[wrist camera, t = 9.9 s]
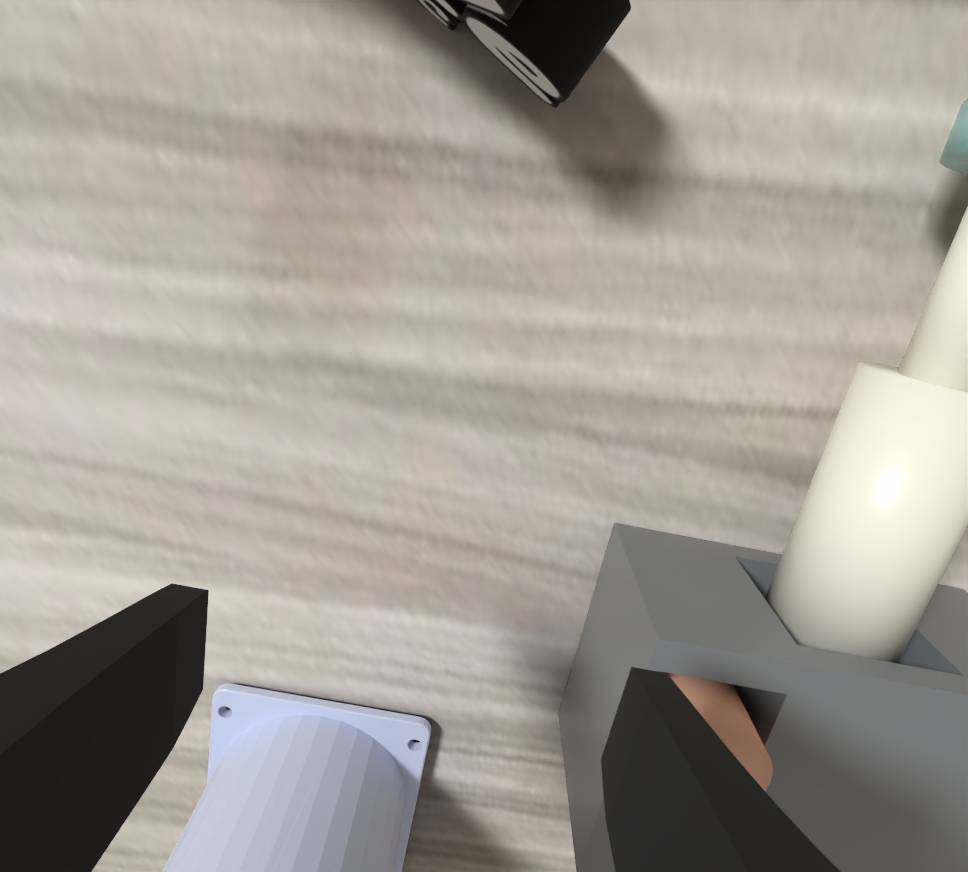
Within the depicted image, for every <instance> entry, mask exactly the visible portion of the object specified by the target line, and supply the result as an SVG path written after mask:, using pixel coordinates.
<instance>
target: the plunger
mask: <svg viewBox="0 0 968 872" xmlns="http://www.w3.org/2000/svg"><path fill="white" fill-rule="evenodd" d="M659 672H661V671H659ZM663 673H667V672H663ZM667 674H668V676H669V677H670V678H671V679H672V680H673V681H674V682H675V684H676V685H677V686H678V687H679V688H680V690H681V691H682V692H683V693H684V695H685V696H686V697H687V698H688V699H689V701H690V702H691V703H692V704H693V706H694V707H695V708H696V709H697V711H698V712H699V713H700V714H701V715H702V717H703V718H704V719H705V720H706V722H707V723H708V724H709V725H710V727H711V728H712V729H713V730H714V731H715V733H716V734H717V735H718V736H719V738H720V739H721V740H722V741H723V742H724V744H725V745H726V746H727V747H728V749H729V750H730V751H731V752H732V753H733V755H734V756H735V757H736V758H737V759H738V760H739V762H740V763H741V764H742V765H743V766H744V768H745V769H746V770H747V771H748V772H749V773H750V775H751V776H752V777H753V778H754V779H755V780H756V782H757V783H758V784H759V785H760V786H761V787H762V788H763V790H764V791H766V789H767V788H768V786H769V784H770V781H771V779H772V774H773V767H772V762H771V759H770V757H769V755H768V753H767V751H766V749H765V747H764V745H763V743H762V741H761V739H760V737H759V735H758V733H757V731H756V729H755V727H754V725H753V723H752V721H751V719H750V717H749V715H748V713H747V711H746V709H745V707H744V705H743V703H742V701H741V699H740V697H739V695H738V693H737V691H736V689H735V687H734V685H733V684H727V683H722V682H716V681H711V680H705V679H700V678H694V677H689V676H683V675H678V674H672V673H667Z"/></svg>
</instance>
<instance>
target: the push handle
mask: <svg viewBox="0 0 968 872" xmlns="http://www.w3.org/2000/svg"><path fill="white" fill-rule="evenodd" d="M940 163H941V164H942V165H943V166H945V167H947V168H949V169H952V170H954V171H958V172H961V173H965V174H968V99H967V100H966V101H964V102H963V104H962V105H961V108H960V110H959V113H958V115H957V118H956V120H955V123H954V125H953V128H952V130H951V133H950V136H949V138H948V141H947V143H946V146H945V148H944V151H943V153H942V156H941V158H940ZM967 525H968V206H967V209H966V211H965V213H964V216H963V218H962V220H961V223H960V225H959V228H958V230H957V232H956V235H955V237H954V239H953V242H952V244H951V247H950V249H949V251H948V254H947V256H946V258H945V261H944V263H943V266H942V268H941V270H940V273H939V275H938V277H937V280H936V282H935V284H934V287H933V289H932V292H931V294H930V296H929V299H928V301H927V303H926V306H925V308H924V311H923V313H922V315H921V318H920V320H919V322H918V325H917V327H916V330H915V332H914V334H913V337H912V339H911V341H910V344H909V346H908V349H907V351H906V353H905V356H904V358H903V360H902V363H901V365H900V367H899V368H898V367H893V366H888V365H882V364H876V363H869V362H859V364H858V366H857V369H856V371H855V374H854V376H853V379H852V381H851V384H850V386H849V389H848V391H847V394H846V396H845V399H844V401H843V404H842V406H841V409H840V411H839V414H838V416H837V419H836V421H835V424H834V426H833V429H832V431H831V434H830V436H829V439H828V441H827V444H826V446H825V449H824V451H823V454H822V456H821V459H820V461H819V464H818V466H817V469H816V471H815V474H814V476H813V479H812V481H811V484H810V486H809V489H808V491H807V494H806V496H805V499H804V502H803V504H802V507H801V509H800V512H799V514H798V517H797V519H796V522H795V524H794V527H793V529H792V532H791V534H790V537H789V539H788V542H787V544H786V547H785V549H784V552H783V554H782V557H781V559H780V562H779V564H778V567H777V569H776V572H775V574H774V577H773V579H772V582H771V584H770V587H769V589H768V592H767V594H766V597H765V600H766V601H767V603H768V604H769V605H770V607H771V608H772V610H773V611H774V613H775V614H776V615H777V617H778V618H779V620H780V621H781V622H782V624H783V625H784V627H785V628H786V630H787V631H788V632H789V634H790V635H791V637H792V638H793V640H794V641H795V642H796V644H797V645H800V646H805V647H810V648H816V649H821V650H827V651H832V652H837V653H843V654H848V655H854V656H859V657H865V658H870V659H875V660H881V661H886V662H892V663H897V664H898V663H899V661H900V659H901V657H902V655H903V653H904V651H905V649H906V647H907V645H908V643H909V641H910V639H911V637H912V635H913V633H914V631H915V629H916V627H917V625H918V623H919V621H920V619H921V617H922V615H923V613H924V611H925V609H926V607H927V605H928V603H929V601H930V599H931V597H932V595H933V593H934V591H935V589H936V587H937V585H938V583H939V581H940V579H941V577H942V575H943V573H944V571H945V569H946V567H947V565H948V563H949V561H950V559H951V557H952V555H953V553H954V551H955V549H956V547H957V545H958V543H959V541H960V539H961V537H962V535H963V533H964V531H965V529H966V527H967Z"/></svg>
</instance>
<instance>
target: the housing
mask: <svg viewBox="0 0 968 872" xmlns="http://www.w3.org/2000/svg"><path fill="white" fill-rule="evenodd" d="M781 557H782V555H781V554H775V553H770V552H765V551H760V550H754V549H749V548H744V547H738V546H733V545H728V544H723V543H717V542H712V541H707V540H702V539H696V538H691V537H686V536H680V535H675V534H670V533H665V532H659V531H654V530H649V529H643V528H638V527H633V526H628V525H622V524H617V523H614V526H613V529H612V533H611V536H610V540H609V543H608V546H607V550H606V553H605V557H604V560H603V564H602V567H601V570H600V574H599V577H598V581H597V584H596V587H595V591H594V594H593V598H592V601H591V604H590V608H589V611H588V615H587V618H586V622H585V625H584V628H583V632H582V635H581V639H580V642H579V645H578V649H577V652H576V656H575V659H574V663H573V666H572V669H571V673H570V676H569V680H568V683H567V686H566V690H565V693H564V697H563V700H562V703H561V707H560V710H559V714H558V715H559V724H560V732H561V741H562V749H563V758H564V767H565V775H566V784H567V793H568V801H569V810H570V819H571V827H572V836H573V844H574V853H575V862H576V870H577V872H616V871H615V866H614V861H613V856H612V851H611V846H610V841H609V835H608V830H607V825H606V816H605V806H604V795H603V782H602V768H601V757H602V754H603V751H604V748H605V745H606V742H607V739H608V736H609V733H610V730H611V727H612V724H613V721H614V718H615V715H616V712H617V709H618V706H619V703H620V700H621V697H622V694H623V691H624V688H625V685H626V682H627V679H628V676H629V672H630V669H631V667H635V668H641V669H646V670H652V671H657V672H659V671H661V672H667V673H672V674H678V675H683V676H689V677H694V678H700V679H705V680H711V681H716V682H722V683H727V684H733V685H734V687H735V689H736V691H737V693H738V695H739V697H740V699H741V701H742V703H743V705H744V707H745V709H746V711H747V713H748V715H749V717H750V719H751V721H752V723H753V725H754V727H755V729H756V731H757V733H758V735H759V737H760V739H761V741H762V743H763V745H764V747H765V749H766V751H767V753H768V755H769V757H770V759H771V762H772V767H773V774H772V779H771V781H770V784H769V786H768V788H767V789H766V791H765V792H766V793H767V794H768V795H769V796H770V797H771V799H772V800H773V801H774V802H775V803H776V804H777V805H778V806H779V807H780V809H781V810H782V811H783V812H784V813H785V814H786V815H787V816H788V817H789V818H790V819H791V820H792V822H793V823H794V824H795V825H796V826H797V827H798V828H799V829H800V830H801V831H802V832H803V833H804V834H805V836H806V837H807V838H808V839H809V840H810V841H811V842H812V843H813V844H814V845H815V846H816V847H817V848H818V849H819V850H820V851H821V852H822V853H823V854H824V855H825V856H826V857H827V858H828V859H829V860H830V861H831V862H832V863H833V864H834V865H835V866H836V867H837V868H838V869H839V870H840V871H841V872H968V593H967V592H966V591H965V590H964V589H960V588H955V587H949V586H944V585H939V584H938V585H937V587H936V589H935V591H934V593H933V595H932V597H931V599H930V601H929V603H928V605H927V607H926V609H925V611H924V613H923V615H922V617H921V619H920V621H919V623H918V625H917V627H916V629H915V631H914V633H913V635H912V637H911V639H910V641H909V643H908V645H907V647H906V649H905V651H904V653H903V655H902V657H901V659H900V661H899V663H898V664H897V663H892V662H886V661H881V660H875V659H870V658H865V657H859V656H854V655H848V654H843V653H837V652H832V651H827V650H821V649H816V648H810V647H805V646H800V645H797V644H796V642H795V641H794V640H793V638H792V637H791V635H790V634H789V632H788V631H787V630H786V628H785V627H784V625H783V624H782V622H781V621H780V620H779V618H778V617H777V615H776V614H775V613H774V611H773V610H772V608H771V607H770V605H769V604H768V603H767V601H766V600H765V597H766V594H767V592H768V589H769V587H770V584H771V582H772V579H773V577H774V574H775V572H776V569H777V567H778V564H779V562H780V559H781Z"/></svg>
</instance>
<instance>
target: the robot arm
mask: <svg viewBox="0 0 968 872" xmlns="http://www.w3.org/2000/svg"><path fill="white" fill-rule="evenodd" d="M207 607H208V590H204V589H199V588H193V587H188V586H182V585H177V584H170V585H168V586H166V587H164V588H162V589H160V590H158V591H156V592H155V593H153V594H151V595H149V596H147V597H145V598H143V599H142V600H140V601H138V602H136V603H134V604H133V605H131V606H129V607H127V608H125V609H124V610H122V611H120V612H118V613H116V614H115V615H113V616H111V617H109V618H107V619H105V620H104V621H102V622H100V623H98V624H96V625H94V626H93V627H91V628H89V629H87V630H85V631H83V632H81V633H79V634H78V635H76V636H74V637H72V638H70V639H68V640H66V641H65V642H63V643H61V644H59V645H57V646H55V647H53V648H51V649H50V650H48V651H46V652H44V653H42V654H40V655H38V656H35V657H33V658H31V659H29V660H27V661H25V662H23V663H21V664H19V665H17V666H15V667H13V668H11V669H9V670H7V671H5V672H3V673H1V674H0V872H91V871H92V870H93V868H94V867H95V865H96V864H97V862H98V861H99V859H100V858H101V856H102V855H103V853H104V852H105V850H106V849H107V847H108V846H109V844H110V843H111V841H112V840H113V838H114V837H115V835H116V834H117V832H118V831H119V829H120V828H121V826H122V825H123V823H124V822H125V820H126V819H127V817H128V816H129V814H130V813H131V811H132V810H133V808H134V807H135V805H136V804H137V802H138V801H139V799H140V798H141V796H142V795H143V793H144V792H145V790H146V789H147V787H148V786H149V784H150V783H151V781H152V780H153V778H154V776H155V775H156V773H157V772H158V770H159V769H160V767H161V766H162V764H163V763H164V761H165V760H166V758H167V757H168V755H169V753H170V752H171V750H172V749H173V747H174V745H175V743H176V741H177V739H178V737H179V736H180V734H181V732H182V730H183V728H184V726H185V724H186V722H187V720H188V718H189V716H190V714H191V712H192V710H193V708H194V706H195V704H196V702H197V700H198V698H199V696H200V694H201V692H202V690H203V677H204V660H205V642H206V625H207ZM224 706H226V707H228V708H230V709H231V710H228V709H225V708H224ZM430 735H431V725H430V723H429V721H427V720H426V719H425V718H422V717H418V716H412V715H407V714H401V713H395V712H390V711H384V710H378V709H373V708H367V707H361V706H355V705H350V704H344V703H338V702H333V701H327V700H321V699H316V698H310V697H304V696H299V695H293V694H287V693H282V692H276V691H270V690H264V689H259V688H253V687H247V686H242V685H236V684H228V683H225V684H222V685H220V686H219V687H218V688H217V690H216V691H215V693H214V695H213V699H212V714H211V730H210V746H209V761H208V777H207V787H206V788H205V790H204V792H203V794H202V796H201V798H200V800H199V802H198V804H197V806H196V807H195V809H194V811H193V813H192V815H191V817H190V819H189V821H188V823H187V825H186V826H185V828H184V830H183V832H182V834H181V836H180V838H179V840H178V842H177V844H176V845H175V847H174V849H173V851H172V853H171V855H170V857H169V859H168V861H167V863H166V864H165V866H164V868H163V870H162V872H402V867H403V863H404V858H405V853H406V849H407V844H408V839H409V834H410V830H411V825H412V820H413V815H414V811H415V806H416V801H417V797H418V792H419V787H420V782H421V778H422V773H423V768H424V763H425V759H426V754H427V749H428V745H429V740H430ZM411 740H418V741H420V742H413V741H411ZM601 768H602V782H603V795H604V806H605V816H606V825H607V830H608V835H609V841H610V846H611V851H612V856H613V861H614V866H615V871H616V872H841V871H840V870H839V869H838V868H837V867H836V866H835V865H834V864H833V863H832V862H831V861H830V860H829V859H828V858H827V857H826V856H825V855H824V854H823V853H822V852H821V851H820V850H819V849H818V848H817V847H816V846H815V845H814V844H813V843H812V842H811V841H810V840H809V839H808V838H807V837H806V836H805V834H804V833H803V832H802V831H801V830H800V829H799V828H798V827H797V826H796V825H795V824H794V823H793V822H792V820H791V819H790V818H789V817H788V816H787V815H786V814H785V813H784V812H783V811H782V810H781V809H780V807H779V806H778V805H777V804H776V803H775V802H774V801H773V800H772V799H771V797H770V796H769V795H768V794H767V793H766V792H765V791H764V790H763V788H762V787H761V786H760V785H759V784H758V783H757V782H756V780H755V779H754V778H753V777H752V776H751V775H750V773H749V772H748V771H747V770H746V769H745V768H744V766H743V765H742V764H741V763H740V762H739V760H738V759H737V758H736V757H735V756H734V755H733V753H732V752H731V751H730V750H729V749H728V747H727V746H726V745H725V744H724V742H723V741H722V740H721V739H720V738H719V736H718V735H717V734H716V733H715V731H714V730H713V729H712V728H711V727H710V725H709V724H708V723H707V722H706V720H705V719H704V718H703V717H702V715H701V714H700V713H699V712H698V711H697V709H696V708H695V707H694V706H693V704H692V703H691V702H690V701H689V699H688V698H687V697H686V696H685V695H684V693H683V692H682V691H681V690H680V688H679V687H678V686H677V685H676V684H675V682H674V681H673V680H672V679H671V678H670V677H669V676H668V674H667V673H663V672H657V671H652V670H646V669H641V668H635V667H631V669H630V672H629V676H628V679H627V682H626V685H625V688H624V691H623V694H622V697H621V700H620V703H619V706H618V709H617V712H616V715H615V718H614V721H613V724H612V727H611V730H610V733H609V736H608V739H607V742H606V745H605V748H604V751H603V754H602V757H601Z"/></svg>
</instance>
